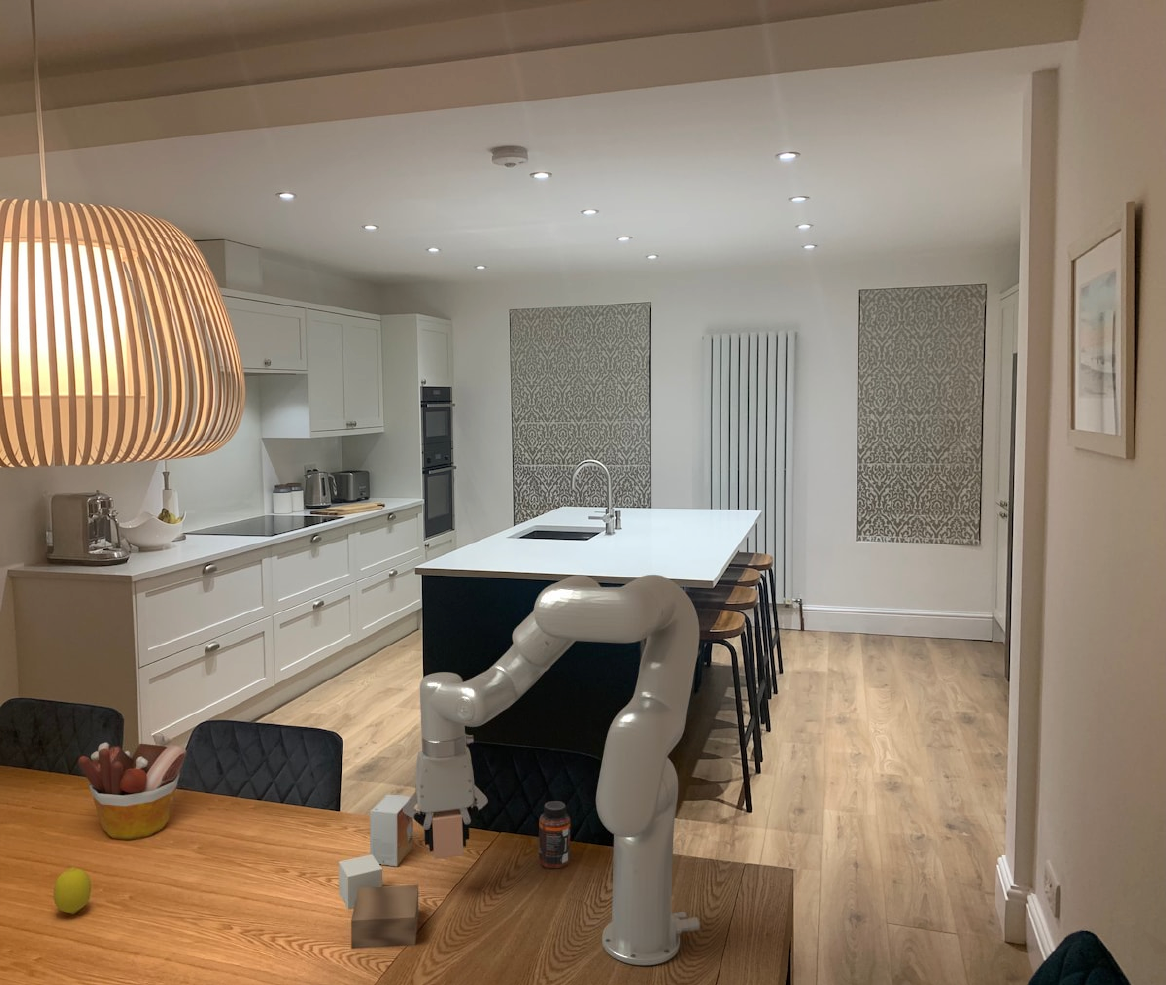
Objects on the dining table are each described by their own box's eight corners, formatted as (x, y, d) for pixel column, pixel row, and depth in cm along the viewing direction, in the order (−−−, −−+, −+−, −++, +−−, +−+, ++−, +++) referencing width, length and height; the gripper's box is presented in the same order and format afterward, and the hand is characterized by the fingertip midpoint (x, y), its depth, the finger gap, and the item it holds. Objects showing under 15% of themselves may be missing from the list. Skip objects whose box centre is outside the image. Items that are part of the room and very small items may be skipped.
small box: (397, 867, 170) (397, 813, 170) (369, 864, 172) (369, 810, 171) (413, 847, 178) (413, 796, 177) (386, 844, 179) (386, 793, 178)
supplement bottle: (574, 866, 172) (575, 809, 171) (544, 872, 170) (545, 813, 169) (563, 852, 178) (564, 796, 177) (534, 857, 175) (535, 800, 174)
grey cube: (372, 885, 164) (372, 853, 164) (382, 901, 159) (382, 868, 158) (339, 893, 161) (338, 861, 161) (347, 910, 156) (347, 876, 155)
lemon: (57, 907, 155) (55, 862, 154) (94, 902, 157) (92, 857, 156) (51, 925, 150) (49, 878, 149) (89, 919, 152) (87, 873, 151)
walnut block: (418, 912, 156) (418, 884, 156) (415, 946, 146) (415, 917, 146) (358, 915, 155) (358, 887, 154) (351, 950, 145) (351, 920, 144)
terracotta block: (460, 842, 163) (458, 804, 163) (463, 855, 159) (461, 816, 158) (431, 846, 162) (430, 808, 162) (434, 859, 157) (432, 820, 157)
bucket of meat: (133, 804, 195) (131, 714, 194) (201, 812, 192) (200, 721, 190) (62, 847, 176) (58, 747, 174) (136, 857, 172) (133, 756, 171)
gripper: (488, 732, 165) (492, 830, 166) (393, 743, 161) (397, 842, 162) (495, 746, 157) (498, 848, 159) (394, 757, 153) (399, 862, 155)
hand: (447, 844), depth 160 cm, fingers closed on terracotta block, 5 cm apart
